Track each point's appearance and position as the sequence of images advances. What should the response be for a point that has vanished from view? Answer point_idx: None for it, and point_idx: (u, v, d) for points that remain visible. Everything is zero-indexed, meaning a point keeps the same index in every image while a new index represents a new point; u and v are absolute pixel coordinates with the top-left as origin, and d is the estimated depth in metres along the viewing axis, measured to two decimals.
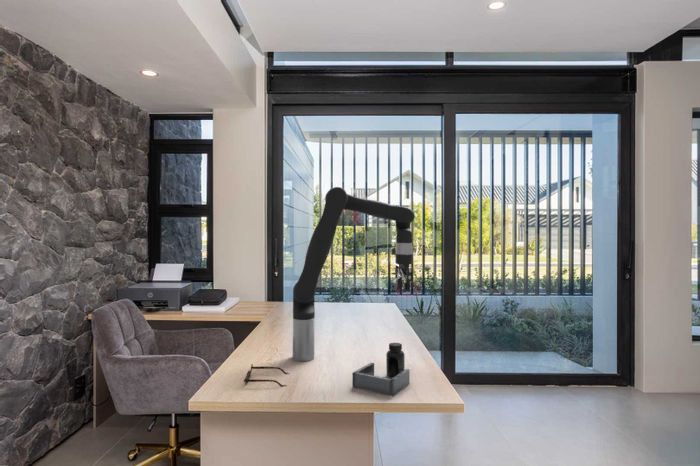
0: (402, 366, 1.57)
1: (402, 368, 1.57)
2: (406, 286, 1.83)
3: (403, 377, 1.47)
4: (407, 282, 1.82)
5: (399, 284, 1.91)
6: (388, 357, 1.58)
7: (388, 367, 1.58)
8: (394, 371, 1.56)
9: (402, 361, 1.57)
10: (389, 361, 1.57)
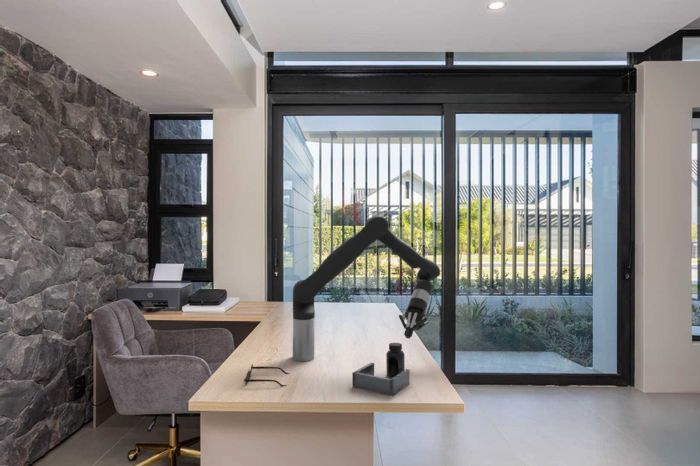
0: (402, 366, 1.57)
1: (402, 368, 1.57)
2: (410, 332, 1.69)
3: (403, 377, 1.47)
4: (413, 328, 1.70)
5: None
6: (388, 357, 1.58)
7: (388, 367, 1.58)
8: (394, 371, 1.56)
9: (402, 361, 1.57)
10: (389, 361, 1.57)
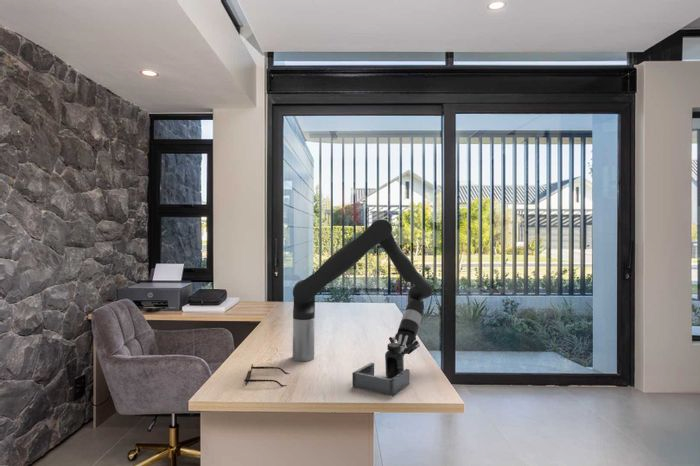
0: (401, 366, 1.56)
1: (401, 368, 1.56)
2: None
3: (403, 377, 1.47)
4: (404, 352, 1.63)
5: None
6: (387, 358, 1.56)
7: (387, 368, 1.57)
8: (393, 371, 1.55)
9: (401, 361, 1.56)
10: (388, 362, 1.56)
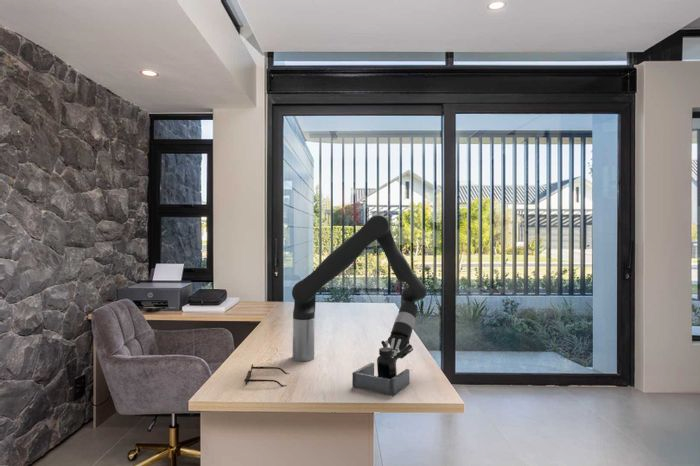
0: (394, 372, 1.50)
1: (394, 374, 1.50)
2: None
3: (403, 377, 1.47)
4: (396, 356, 1.56)
5: None
6: (379, 363, 1.50)
7: (379, 374, 1.50)
8: (386, 377, 1.49)
9: (394, 367, 1.50)
10: (380, 368, 1.50)
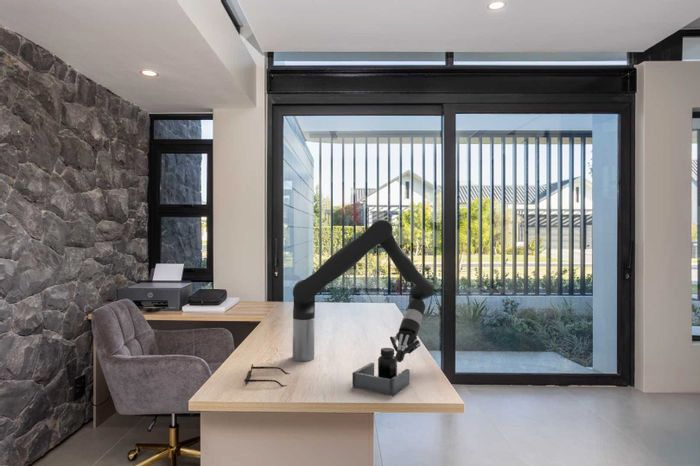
0: (394, 372, 1.50)
1: (394, 374, 1.50)
2: (401, 355, 1.62)
3: (403, 377, 1.47)
4: (404, 351, 1.63)
5: None
6: (380, 363, 1.50)
7: (380, 373, 1.50)
8: (386, 377, 1.49)
9: (394, 367, 1.50)
10: (381, 368, 1.50)
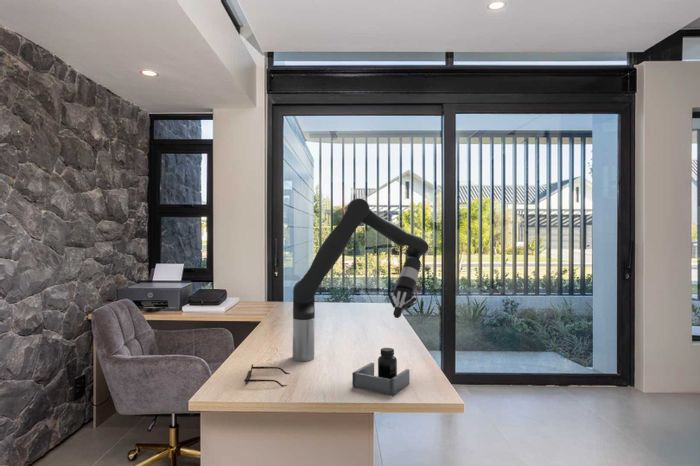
0: (394, 372, 1.50)
1: (394, 374, 1.50)
2: (399, 311, 1.69)
3: (403, 377, 1.47)
4: (402, 308, 1.70)
5: None
6: (380, 363, 1.50)
7: (380, 373, 1.50)
8: (386, 377, 1.49)
9: (394, 367, 1.50)
10: (381, 368, 1.50)
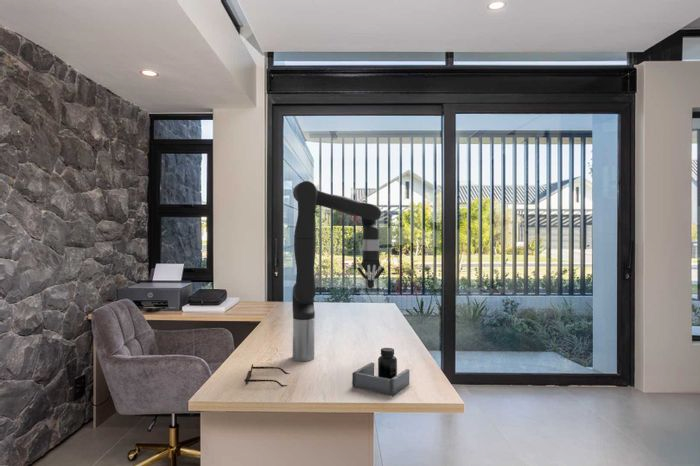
0: (394, 372, 1.50)
1: (394, 374, 1.50)
2: (373, 283, 1.90)
3: (403, 377, 1.47)
4: None
5: None
6: (380, 363, 1.50)
7: (380, 373, 1.50)
8: (386, 377, 1.49)
9: (394, 367, 1.50)
10: (381, 368, 1.50)
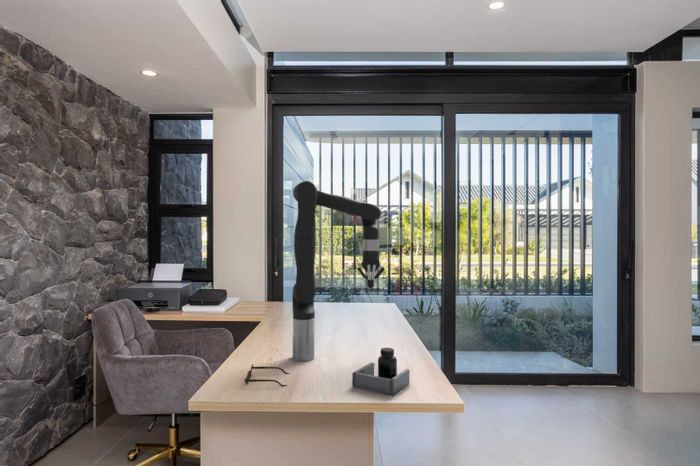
0: (394, 372, 1.50)
1: (394, 374, 1.50)
2: (373, 283, 1.90)
3: (403, 377, 1.47)
4: None
5: None
6: (380, 363, 1.50)
7: (380, 373, 1.50)
8: (386, 377, 1.49)
9: (394, 367, 1.50)
10: (381, 368, 1.50)
